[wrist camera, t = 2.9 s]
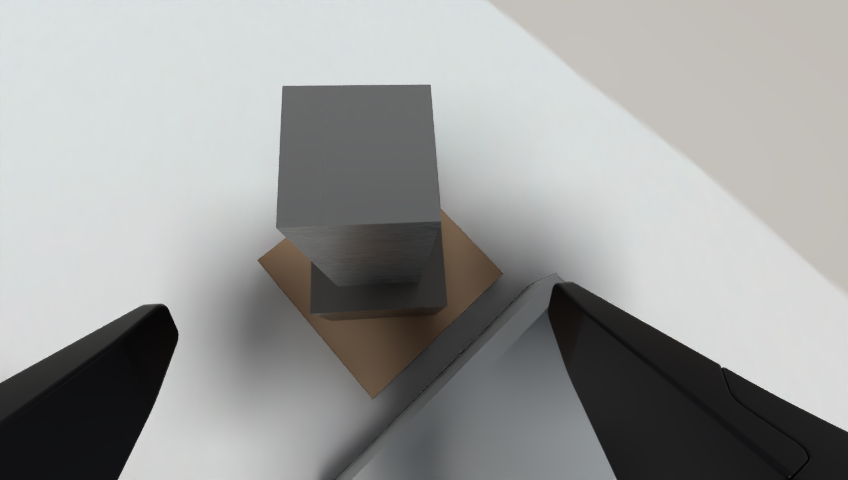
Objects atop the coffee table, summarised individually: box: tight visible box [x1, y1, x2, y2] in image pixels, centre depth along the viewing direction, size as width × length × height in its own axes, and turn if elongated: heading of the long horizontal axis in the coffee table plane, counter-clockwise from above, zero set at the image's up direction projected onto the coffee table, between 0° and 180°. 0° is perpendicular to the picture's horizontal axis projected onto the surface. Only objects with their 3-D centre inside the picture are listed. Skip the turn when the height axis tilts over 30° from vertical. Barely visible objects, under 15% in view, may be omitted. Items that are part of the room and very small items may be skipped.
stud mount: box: [258, 210, 503, 399], centre depth 18 cm, size 9×9×4 cm
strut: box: [276, 85, 447, 321], centre depth 13 cm, size 5×5×12 cm
